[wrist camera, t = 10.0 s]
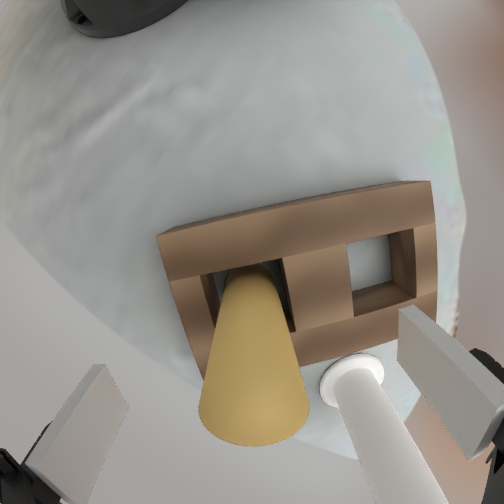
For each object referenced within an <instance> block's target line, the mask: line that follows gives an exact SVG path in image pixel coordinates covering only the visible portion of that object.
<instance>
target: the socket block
mask: <svg viewBox="0 0 504 504" xmlns="http://www.w3.org/2000/svg"><path fill="white" fill-rule="evenodd" d="M385 234H388V235H389V245H390V256H391V269H392V281H389V282H386V283H382V284H379V285H375V286H372V287H368V288H364V289H361V290H357V291H353V292H352V291H351V281H350V272H349V264H348V256H347V249H346V243H350V242H355V241H359V240H364V239H368V238H372V237H377V236H381V235H385ZM156 238H157V241H158V245H159V249H160V252H161V256H162V260H163V263H164V267H165V270H166V273H167V277H168V280H169V284H170V287H171V290H172V293H173V296H174V300H175V303H176V306H177V309H178V312H179V315H180V318H181V321H182V324H183V327H184V330H185V333H186V335H187V338H188V341H189V344H190V347H191V349H192V352H193V355H194V357H195V360H196V363H197V365H198V368H199V371H200V373H201V376H202V378H203V381H204V379H205V374H206V369H207V365H208V360H209V355H210V351H211V346H212V342H213V337H214V332H215V328H216V323H217V319H218V314H219V310H220V306H221V305H220V301H219V298H218V294H217V290H216V287H215V283H214V279H213V276H212V273H213V272H218V271H223V270H228V269H232V268H237V267H242V266H246V265H251V264H256V263H260V262H265V261H269V260H274V259H279V263H280V268H281V273H282V278H283V283H284V288H285V293H286V298H287V304H288V307H287V308H283V312H284V316H285V319H286V323H287V326H288V330H289V333H290V337H291V340H292V344H293V347H294V351H295V354H296V358H297V361H298V365H299V367H301V366H305V365H309V364H314V363H318V362H322V361H325V360H329V359H333V358H337V357H340V356H344V355H347V354H351V353H354V352H358V351H361V350H364V349H367V348H371V347H374V346H377V345H380V344H383V343H386V342H389V341H392V340H395V339H397V338H398V325H399V309H401V308H404V307H407V306H410V305H413V304H414V305H415V306H416V307H417V308H418V309H420V310H421V311H422V312H423V313H425V314H426V315H427V316H428V317H429V318H431V319H432V320H433V321H434V322H435V323H436V311H437V240H436V226H435V214H434V205H433V196H432V189H431V182H430V181H399V182H392V183H386V184H380V185H374V186H368V187H362V188H356V189H350V190H345V191H339V192H334V193H328V194H323V195H318V196H313V197H307V198H302V199H297V200H292V201H287V202H282V203H278V204H273V205H268V206H263V207H259V208H254V209H250V210H245V211H241V212H236V213H232V214H227V215H223V216H219V217H214V218H210V219H206V220H202V221H197V222H193V223H189V224H185V225H181V226H177V227H173V228H171V229H169V230H167V231H165V232H164V233H162V234H160V235H158V236H156Z"/></svg>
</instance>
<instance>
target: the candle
mask: <svg viewBox="0 0 504 504" xmlns="http://www.w3.org/2000/svg"><path fill="white" fill-rule="evenodd" d="M383 378H384V369H383V366H382V364H381V362H380V361H379V360H378V359H377V358H376V357H374V356H372V355H369V354H363V353H362V354H353V355H349V356H347V357H344V358H342V359H340V360H339V361H337V362H336V363H334V364H333V365H332V366H331V367H330V368H329V369H328V370H327V371H326V372H325V374H324V375H323V377H322V379H321V382H320V394H321V397H322V399H323V400H324V402H325V403H326V404H328V405H330V406H332V407H335V408H339V409H340V411H341V414H342V416H343V419H344V421H345V424H346V427H347V429H348V432H349V434H350V437H351V440H352V442H353V445H354V448H355V450H356V453H357V456H358V458H359V461H360V464H361V466H362V469H363V472H364V474H365V477H366V480H367V483H368V485H369V488H370V491H371V494H372V496H373V499H374V502H375V504H449V503H448V501H447V499H446V498H445V496H444V494H443V492H442V490H441V488H440V486H439V485H438V483H437V481H436V479H435V477H434V476H433V474H432V472H431V470H430V469H429V467H428V465H427V463H426V461H425V460H424V458H423V456H422V454H421V453H420V451H419V449H418V447H417V446H416V444H415V442H414V440H413V439H412V437H411V435H410V434H409V432H408V430H407V429H406V427H405V425H404V424H403V422H402V420H401V419H400V417H399V415H398V414H397V412H396V410H395V409H394V407H393V405H392V404H391V402H390V400H389V399H388V397H387V396H386V394H385V392H384V391H383V389H382V387H381V384H382V381H383Z"/></svg>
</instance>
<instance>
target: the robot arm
mask: <svg viewBox="0 0 504 504" xmlns="http://www.w3.org/2000/svg"><path fill="white" fill-rule="evenodd" d="M60 1H61V4H62V7H63V10H64V13H65V15H66V18H67V19H68V21H69V22H70V23H71V24H72V25H73V26H74V27H75V28H76V29H77V30H79V31H80V32H81V33H83V34H85V35H87V36H90V37H97V38H106V37H114V36H119V35H123V34H127V33H130V32H133V31H136V30H138V29H141V28H143V27H146V26H148V25H150V24H152V23H154V22H156V21H158V20H160V19H162V18H163V17H165V16H167V15H168V14H170V13H171V12H173V11H174V10H176V9H177V8H179V7H180V6H181V5H182V4H184V3H185V2H186V1H187V0H60ZM397 361H398V362H399V364H400V365H401V366H402V368H403V369H404V370H405V372H406V373H407V374H408V376H409V377H410V378H411V380H412V381H413V382H414V384H415V385H416V387H417V388H418V389H419V391H420V392H421V393H422V395H423V396H424V398H425V399H426V400H427V402H428V403H429V404H430V406H431V407H432V409H433V410H434V412H435V413H436V414H437V416H438V417H439V419H440V420H441V422H442V423H443V424H444V426H445V427H446V429H447V430H448V432H449V433H450V435H451V436H452V438H453V439H454V440H455V442H456V443H457V445H458V446H459V448H460V449H461V451H462V453H463V454H464V456H465V457H466V459H467V460H468V462H469V461H471V460H472V459H474V458H475V457H477V456H478V455H480V454H481V453H483V452H484V451H486V449H487V447H488V446H489V444H490V442H491V441H492V442H493V443H494V444H495V447H494V449H493V450H492V452H491V453H490V455H489V456H488V458H487V460H486V462H485V463H488V462H489V461H490V459H491V458H492V460H491V465H490V471H489V475H488V480H487V484H486V488H485V492H484V496H483V500H482V503H481V504H504V368H502V367H501V365H500V364H499V363H498V362H495V360H494V359H493V358H492V357H491V356H490V355H489V354H487V353H486V352H484V351H481V350H478V349H476V348H474V349H473V350H471V351H469V352H468V351H467V350H466V349H465V348H464V347H463V346H462V345H460V344H459V343H458V342H457V341H456V340H455V339H454V338H453V337H452V336H450V335H449V334H448V333H447V332H446V331H445V330H443V329H442V328H441V327H440V326H439V325H438V324H436V323H435V322H434V321H433V320H432V319H431V318H429V317H428V316H427V315H426V314H425V313H423V312H422V311H421V310H420V309H418V308H417V307H416V306H415V305H414V304H413V305H410V306H407V307H404V308H401V309H399V325H398V351H397ZM128 409H129V406H128V404H127V402H126V401H125V399H124V397H123V396H122V394H121V392H120V390H119V389H118V387H117V385H116V383H115V382H114V380H113V378H112V376H111V374H110V372H109V370H108V368H107V367H106V365H105V364H99V365H93V366H92V367H91V368H90V370H89V371H88V373H87V374H86V375H85V376H84V378H83V379H82V380H81V382H80V383H79V385H78V386H77V387H76V389H75V390H74V391H73V393H72V394H71V396H70V397H69V398H68V400H67V401H66V402H65V404H64V405H63V407H62V408H61V409H60V411H59V412H58V414H57V415H56V417H55V418H54V420H53V421H52V422H51V423H49V424H48V425H47V426H46V427H45V428H44V430H43V431H42V433H41V436H39V437H38V439H37V442H35V443H34V445H33V446H32V448H31V450H30V451H29V453H28V454H27V456H26V457H25V459H24V460H23V462H22V463H21V465H19V464H18V463H17V462H16V460H15V459H14V458H13V457H12V456H11V455H10V454H9V453H8V452H7V451H6V449H3V448H0V503H1V504H62V503H60V502H59V501H60V499H61V498H62V499H63V500H65V501H66V502H67V503H68V504H87V502H88V500H89V497H90V495H91V493H92V490H93V488H94V485H95V483H96V481H97V478H98V476H99V473H100V471H101V469H102V466H103V464H104V462H105V460H106V457H107V455H108V453H109V450H110V448H111V446H112V444H113V441H114V439H115V437H116V435H117V433H118V430H119V428H120V426H121V424H122V422H123V420H124V417H125V415H126V413H127V411H128Z"/></svg>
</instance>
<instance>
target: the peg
mask: <svg viewBox="0 0 504 504" xmlns="http://www.w3.org/2000/svg"><path fill="white" fill-rule="evenodd" d="M309 409H310V408H309V401H308V397H307V394H306V390H305V387H304V383H303V379H302V376H301V372H300V369H299V365H298V361H297V358H296V354H295V351H294V347H293V344H292V340H291V337H290V333H289V330H288V326H287V323H286V319H285V316H284V312H283V309H282V305H281V302H280V299H279V295H278V292H277V288H276V285H275V281H274V278H273V275H272V273H271V271H270V270H269V269H268V268H267V267H266V266H265V265H264V264H262V263H256V264H251V265H246V266H242V267H237V268H232V269H231V270H230V272H229V274H228V276H227V279H226V284H225V288H224V292H223V297H222V301H221V306H220V310H219V314H218V319H217V323H216V328H215V332H214V337H213V342H212V346H211V351H210V355H209V360H208V365H207V369H206V374H205V379H204V383H203V388H202V394H201V398H200V403H199V417H200V419H201V422H202V423H203V425H204V426H205V427H206V429H207V430H208V431H210V432H211V433H212V434H213V435H214V436H216V437H218V438H219V439H221V440H223V441H226V442H228V443H232V444H235V445H241V446H265V445H270V444H274V443H278V442H280V441H282V440H285V439H287V438H289V437H290V436H292V435H294V434H295V433H296V432H297V431H298V430H299V429H300V428H301V427H302V426H303V425H304V423H305V422H306V420H307V418H308V415H309Z"/></svg>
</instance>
